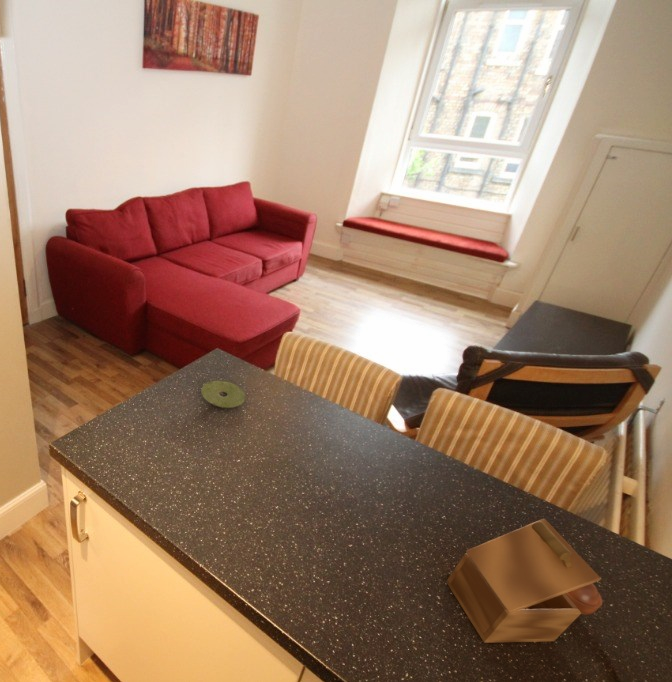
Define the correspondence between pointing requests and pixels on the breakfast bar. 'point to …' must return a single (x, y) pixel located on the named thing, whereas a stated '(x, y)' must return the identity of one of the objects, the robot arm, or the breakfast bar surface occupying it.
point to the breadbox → (494, 617)
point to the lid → (531, 566)
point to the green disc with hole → (223, 394)
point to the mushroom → (586, 599)
